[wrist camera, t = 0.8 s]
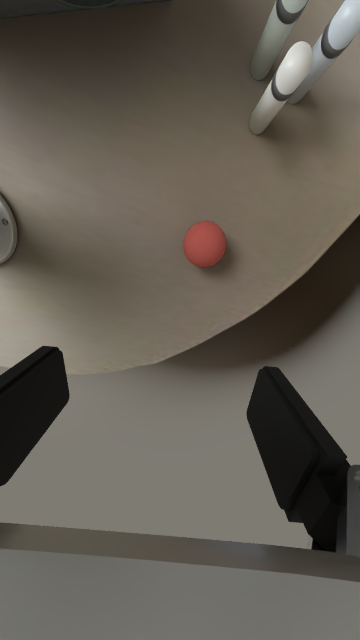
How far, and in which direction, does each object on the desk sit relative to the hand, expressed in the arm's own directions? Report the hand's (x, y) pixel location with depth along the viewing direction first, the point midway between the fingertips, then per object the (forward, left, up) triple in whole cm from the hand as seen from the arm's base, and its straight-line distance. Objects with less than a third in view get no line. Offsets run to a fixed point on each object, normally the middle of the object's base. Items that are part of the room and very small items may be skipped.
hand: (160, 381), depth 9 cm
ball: (+5, +6, -21) cm, 23 cm away
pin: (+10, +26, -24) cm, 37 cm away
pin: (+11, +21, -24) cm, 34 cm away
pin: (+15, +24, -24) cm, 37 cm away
